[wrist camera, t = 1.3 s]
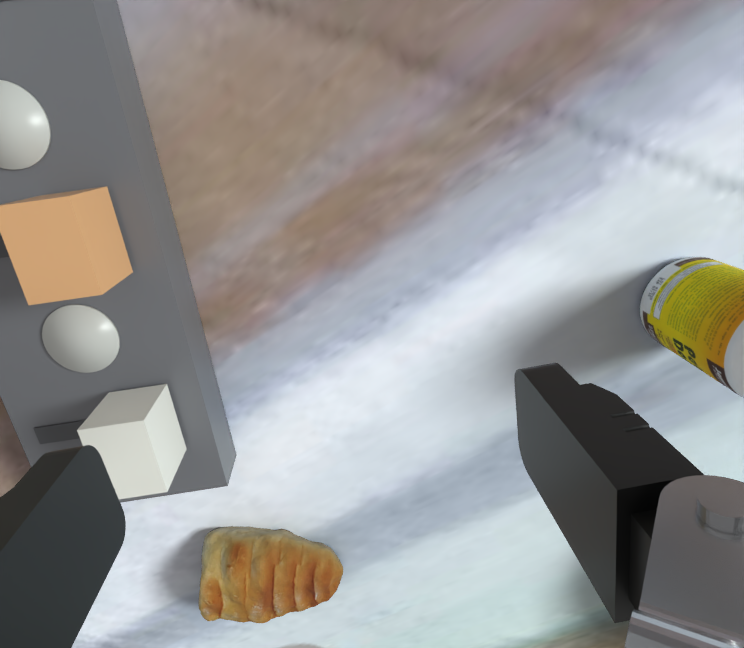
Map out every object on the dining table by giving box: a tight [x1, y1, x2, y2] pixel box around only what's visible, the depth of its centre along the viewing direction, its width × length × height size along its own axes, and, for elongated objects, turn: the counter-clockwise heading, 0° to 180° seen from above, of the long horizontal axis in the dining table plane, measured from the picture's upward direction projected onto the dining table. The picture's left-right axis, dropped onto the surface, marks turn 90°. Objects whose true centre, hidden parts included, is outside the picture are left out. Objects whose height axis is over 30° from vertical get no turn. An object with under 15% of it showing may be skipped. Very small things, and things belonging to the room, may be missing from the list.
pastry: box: [199, 526, 343, 623], centre depth 34 cm, size 9×7×4 cm
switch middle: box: [0, 186, 133, 305], centre depth 22 cm, size 4×3×4 cm
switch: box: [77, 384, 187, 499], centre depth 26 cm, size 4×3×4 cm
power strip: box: [0, 0, 236, 502], centre depth 24 cm, size 40×10×3 cm, turn 7°
